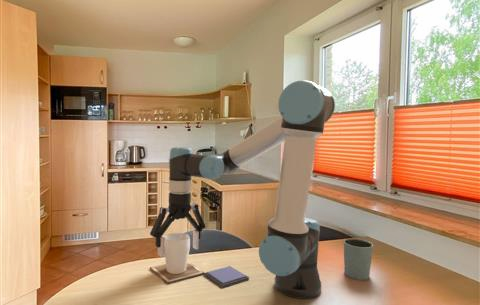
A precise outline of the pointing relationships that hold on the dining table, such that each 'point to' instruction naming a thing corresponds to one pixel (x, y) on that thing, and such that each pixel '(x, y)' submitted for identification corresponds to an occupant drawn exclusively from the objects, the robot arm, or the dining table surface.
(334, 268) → the dining table surface
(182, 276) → the marked board
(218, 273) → the ink pad
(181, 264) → the cup
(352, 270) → the green tumbler
